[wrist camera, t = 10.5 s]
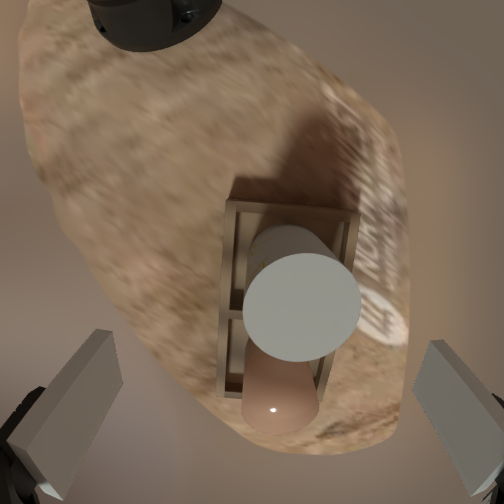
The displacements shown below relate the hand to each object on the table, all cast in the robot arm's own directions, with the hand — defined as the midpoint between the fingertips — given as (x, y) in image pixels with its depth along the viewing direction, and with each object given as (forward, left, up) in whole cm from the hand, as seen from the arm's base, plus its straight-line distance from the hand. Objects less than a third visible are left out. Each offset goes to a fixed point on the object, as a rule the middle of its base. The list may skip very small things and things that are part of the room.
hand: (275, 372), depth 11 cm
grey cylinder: (+1, +3, -21) cm, 21 cm away
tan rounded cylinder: (+12, +3, -21) cm, 24 cm away
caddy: (+7, +3, -22) cm, 23 cm away
